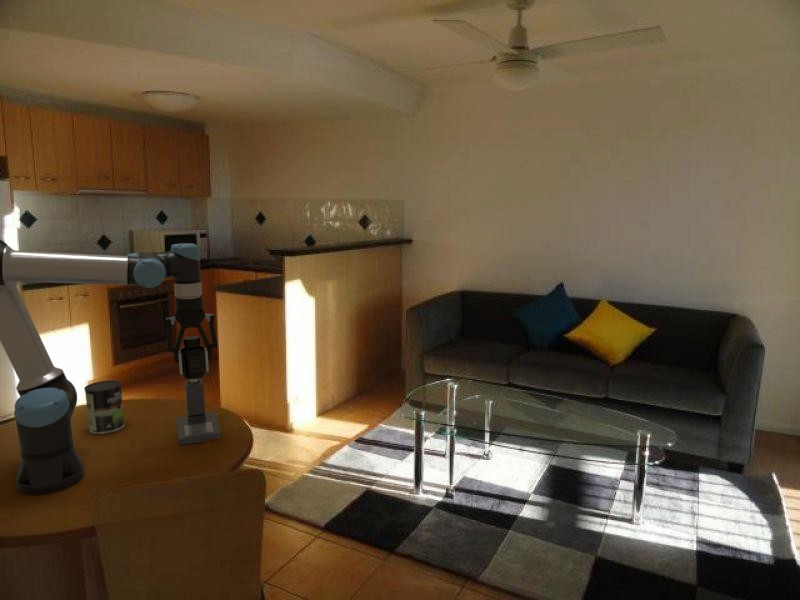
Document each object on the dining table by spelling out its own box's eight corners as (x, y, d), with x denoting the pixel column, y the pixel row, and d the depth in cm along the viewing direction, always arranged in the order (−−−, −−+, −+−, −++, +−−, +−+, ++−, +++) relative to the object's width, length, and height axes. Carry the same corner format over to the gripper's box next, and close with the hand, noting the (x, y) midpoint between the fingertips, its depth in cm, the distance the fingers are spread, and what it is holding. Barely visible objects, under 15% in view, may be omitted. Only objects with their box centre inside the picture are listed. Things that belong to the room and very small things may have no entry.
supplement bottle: (209, 372, 177) (207, 334, 174) (201, 380, 170) (199, 340, 168) (187, 372, 177) (184, 334, 174) (178, 379, 170) (175, 340, 168)
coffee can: (132, 422, 187) (128, 381, 184) (110, 435, 177) (105, 392, 174) (104, 420, 189) (100, 379, 186) (81, 432, 179) (76, 389, 176)
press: (221, 438, 175) (218, 395, 172) (179, 445, 170) (175, 400, 167) (215, 417, 191) (212, 377, 188) (176, 423, 186) (173, 381, 184)
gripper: (222, 292, 176) (226, 364, 180) (152, 296, 168) (158, 372, 173) (224, 296, 169) (229, 371, 173) (152, 301, 161) (159, 379, 166)
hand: (194, 371), depth 173 cm, fingers closed on supplement bottle, 7 cm apart
